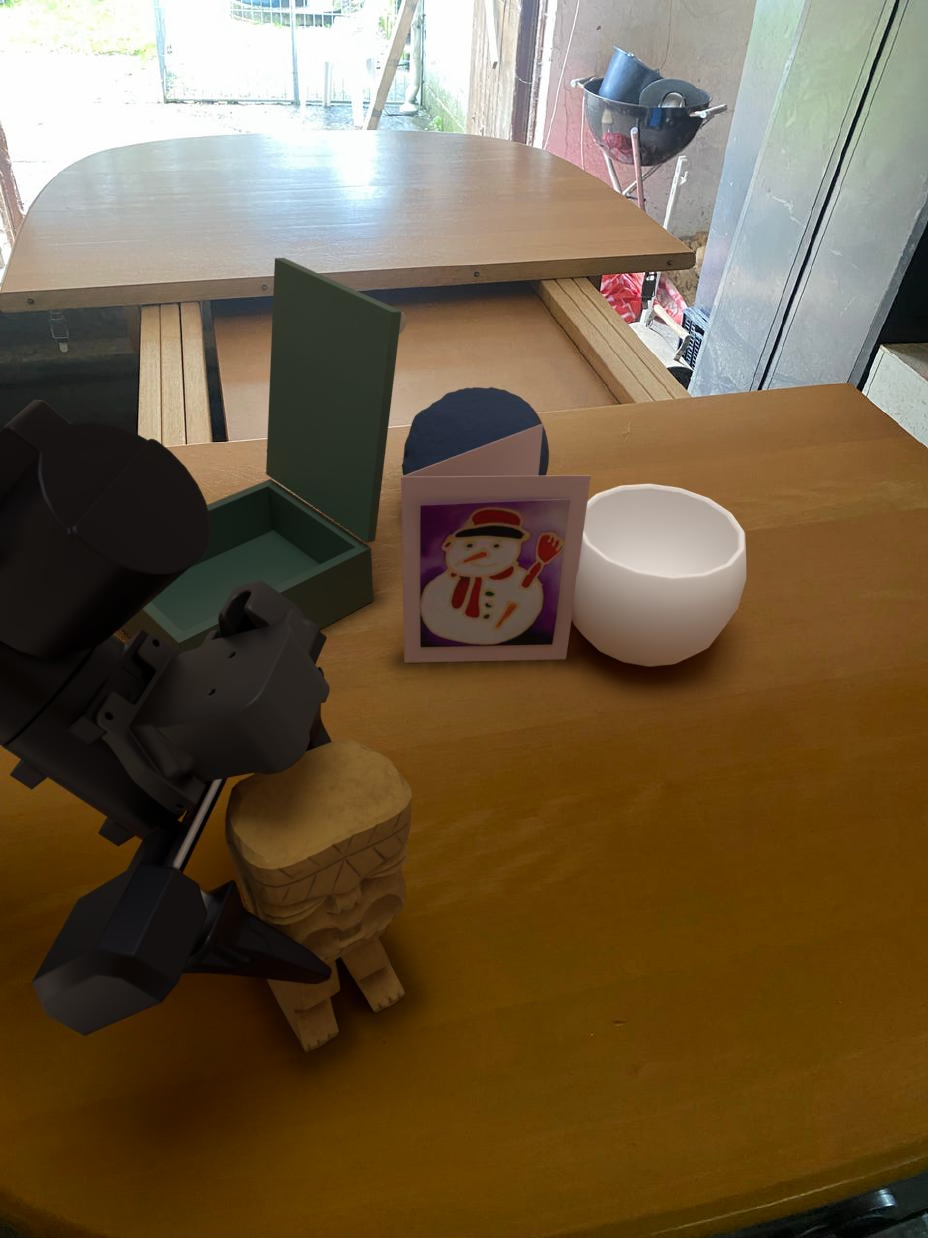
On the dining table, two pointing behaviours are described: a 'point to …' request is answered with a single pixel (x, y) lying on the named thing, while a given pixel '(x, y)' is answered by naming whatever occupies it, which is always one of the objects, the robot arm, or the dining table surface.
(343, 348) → the box lid
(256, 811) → the figurine
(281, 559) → the green open box
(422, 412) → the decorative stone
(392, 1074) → the dining table surface
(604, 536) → the cup
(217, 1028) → the dining table surface
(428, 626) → the greeting card
